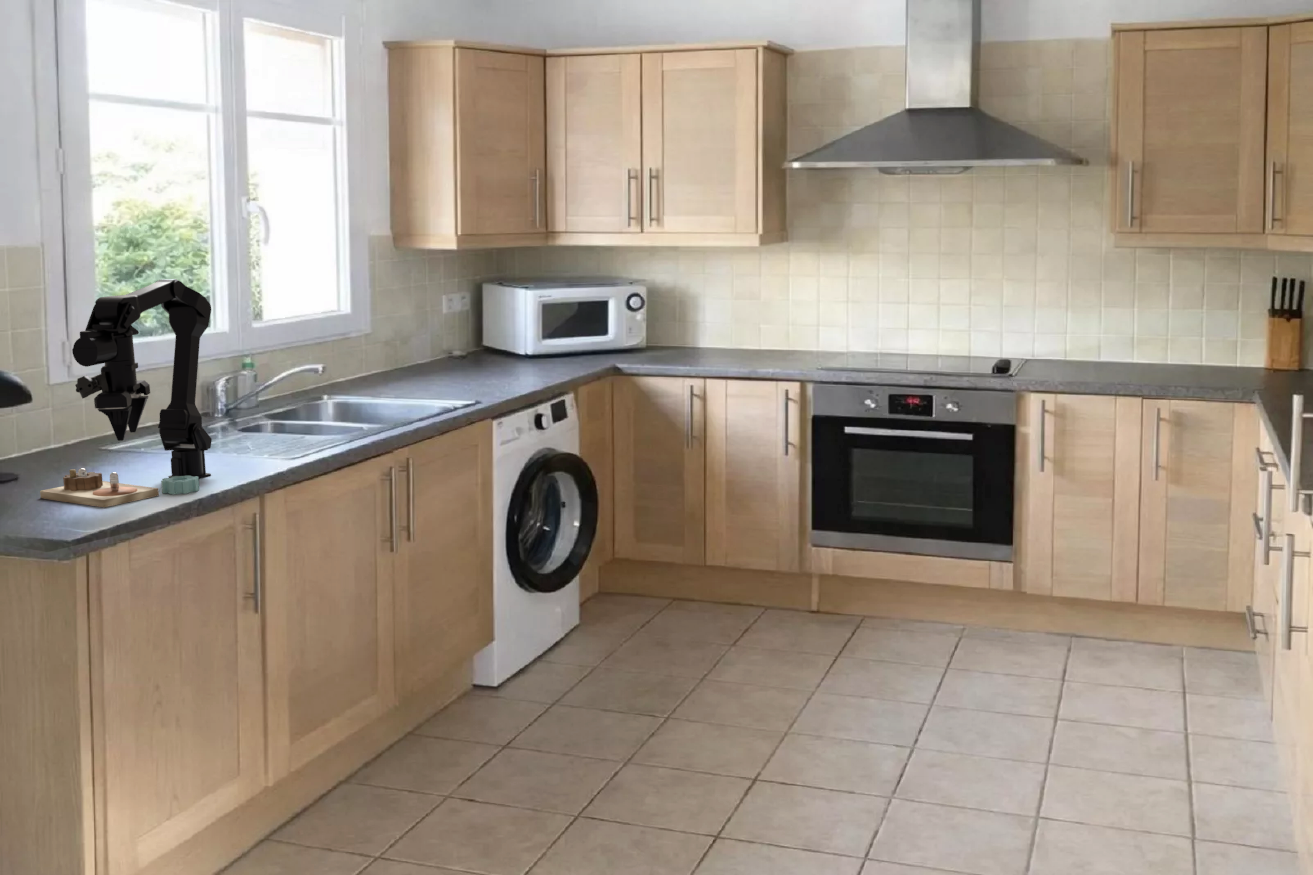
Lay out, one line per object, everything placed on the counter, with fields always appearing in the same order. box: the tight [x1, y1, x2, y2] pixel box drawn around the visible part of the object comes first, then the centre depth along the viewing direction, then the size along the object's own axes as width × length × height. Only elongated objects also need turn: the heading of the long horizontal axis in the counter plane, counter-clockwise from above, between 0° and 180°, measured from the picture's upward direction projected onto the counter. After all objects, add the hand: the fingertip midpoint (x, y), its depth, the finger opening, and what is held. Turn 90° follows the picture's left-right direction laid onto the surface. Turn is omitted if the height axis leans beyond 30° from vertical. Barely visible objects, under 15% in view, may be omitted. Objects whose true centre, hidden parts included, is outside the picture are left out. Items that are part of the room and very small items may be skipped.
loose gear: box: [160, 475, 200, 495], centre depth 295 cm, size 7×7×2 cm
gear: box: [62, 468, 103, 491], centre depth 293 cm, size 7×7×4 cm
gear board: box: [39, 480, 160, 508], centre depth 290 cm, size 13×20×2 cm, turn 58°
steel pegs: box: [77, 467, 120, 491], centre depth 290 cm, size 2×12×4 cm, turn 58°
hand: (126, 436), depth 290 cm, fingers open, 9 cm apart
